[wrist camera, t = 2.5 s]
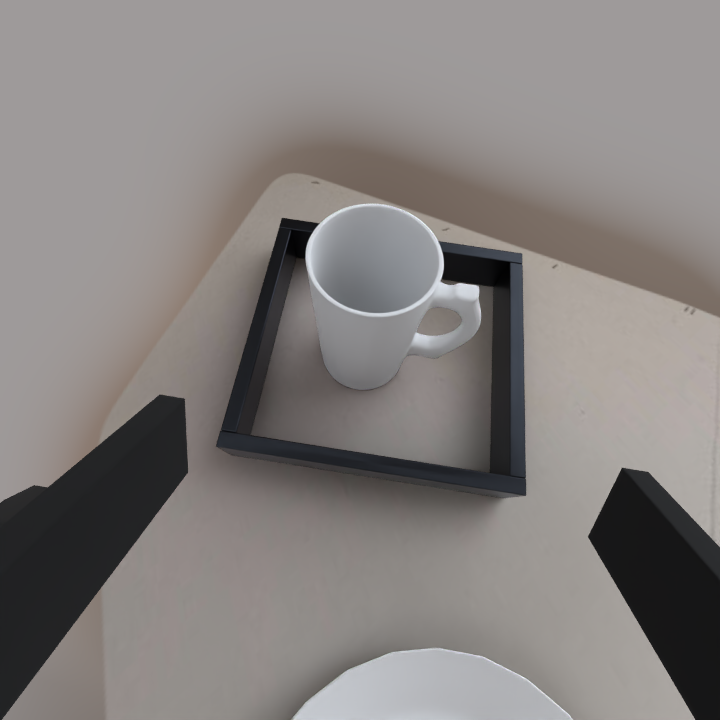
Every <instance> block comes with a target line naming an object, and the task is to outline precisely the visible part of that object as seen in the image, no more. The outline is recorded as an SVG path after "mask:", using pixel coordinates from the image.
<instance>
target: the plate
mask: <svg viewBox="0 0 720 720" xmlns="http://www.w3.org/2000/svg"><path fill="white" fill-rule="evenodd" d="M291 720H573V719H572V718H571V716H570V715H569V714H568V713H567V712H566V711H564V710H563V709H562V708H561V707H560V706H559V705H557V704H556V703H555V702H554V701H553V700H551V699H550V698H549V697H548V696H547V695H546V694H544V693H543V692H542V691H541V690H540V689H539V688H537V687H536V686H535V685H534V684H533V683H531V682H530V681H529V680H528V679H526V678H524V677H523V676H521V675H519V674H517V673H515V672H513V671H511V670H509V669H507V668H505V667H503V666H501V665H499V664H497V663H495V662H493V661H491V660H489V659H487V658H485V657H483V656H478V655H473V654H468V653H463V652H458V651H452V650H447V649H442V648H427V649H417V650H407V651H397V652H390V653H388V654H385V655H383V656H380V657H378V658H376V659H373V660H371V661H368V662H366V663H363V664H361V665H358V666H356V667H353V668H351V669H348V670H346V671H345V672H344V673H343V674H341V675H340V676H339V677H337V678H336V679H335V680H333V681H332V682H331V683H330V684H328V685H327V686H326V687H324V688H323V689H322V690H320V691H319V692H318V693H317V694H315V695H314V696H313V697H311V698H310V699H309V700H307V701H306V702H305V703H304V705H303V706H302V707H301V708H300V709H299V711H298V712H297V713H296V714H295V716H294V717H293V718H292V719H291Z"/></svg>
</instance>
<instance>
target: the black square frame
mask: <svg viewBox="0 0 720 720" xmlns="http://www.w3.org/2000/svg"><path fill="white" fill-rule="evenodd" d="M319 224H320V223H313V222H306V221H300V220H293V219H286V218H282V220H281V223H280V227H279V230H278V234H277V237H276V241H275V244H274V248H273V251H272V255H271V258H270V262H269V265H268V268H267V272H266V275H265V279H264V282H263V286H262V289H261V293H260V296H259V300H258V303H257V307H256V310H255V314H254V317H253V320H252V324H251V327H250V331H249V334H248V338H247V341H246V345H245V348H244V352H243V355H242V359H241V362H240V366H239V369H238V372H237V376H236V379H235V383H234V386H233V390H232V393H231V397H230V400H229V404H228V407H227V411H226V414H225V417H224V421H223V424H222V428H221V430H222V431H220V434H219V437H218V441H217V444H216V447H218V448H220V449H222V450H223V451H225V452H227V453H229V454H231V455H235V456H241V457H247V458H254V459H260V460H266V461H273V462H279V463H285V464H291V465H298V466H304V467H310V468H317V469H323V470H329V471H335V472H342V473H348V474H354V475H361V476H367V477H373V478H379V479H386V480H392V481H398V482H405V483H411V484H417V485H423V486H430V487H436V488H442V489H449V490H455V491H461V492H467V493H474V494H480V495H486V496H493V497H499V498H509V497H518V496H526V479H525V478H526V465H525V400H524V335H523V270H522V254H521V253H514V252H508V251H501V250H494V249H487V248H481V247H474V246H467V245H461V244H454V243H447V242H440V241H438V242H439V244H440V247H441V249H442V253H443V259H444V270H443V275H442V278H441V279H446V280H453V281H460V282H466V283H473V284H480V285H486V286H493V287H494V288H493V342H492V395H491V449H490V473H486V472H480V471H474V470H467V469H461V468H455V467H448V466H442V465H436V464H429V463H423V462H417V461H410V460H404V459H398V458H391V457H385V456H379V455H372V454H366V453H360V452H353V451H347V450H341V449H334V448H328V447H322V446H315V445H309V444H303V443H296V442H290V441H284V440H277V439H271V438H265V437H258V436H252V435H251V431H252V427H253V423H254V419H255V415H256V412H257V408H258V404H259V400H260V396H261V392H262V388H263V384H264V381H265V377H266V373H267V369H268V365H269V361H270V357H271V353H272V349H273V346H274V342H275V338H276V334H277V330H278V326H279V322H280V318H281V315H282V311H283V307H284V303H285V299H286V295H287V291H288V287H289V284H290V280H291V276H292V272H293V268H294V264H295V260H296V257H300V258H305V254H306V247H307V243H308V240H309V238H310V236H311V234H312V233H313V231H314V230H315V228H316V227H317V226H318V225H319Z"/></svg>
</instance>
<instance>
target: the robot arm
mask: <svg viewBox="0 0 720 720" xmlns="http://www.w3.org/2000/svg"><path fill="white" fill-rule="evenodd" d="M187 473H188V461H187V439H186V418H185V399H184V398H177V397H171V396H165V395H159V396H157V397H156V398H155V399H154V400H153V401H151V402H150V403H149V404H148V405H147V406H145V407H144V408H143V409H142V410H141V411H139V412H138V413H137V414H136V415H135V416H133V417H132V418H131V419H130V420H129V421H127V422H126V423H125V424H124V425H123V426H121V427H120V428H119V429H118V430H117V431H115V432H114V433H113V434H112V435H111V436H109V437H108V438H107V439H106V440H105V441H103V442H102V443H101V444H100V445H98V446H97V447H96V448H95V449H94V450H92V451H91V452H90V453H89V454H88V455H86V456H85V457H84V458H83V459H82V460H80V461H79V462H78V463H77V464H76V465H74V466H73V467H72V468H71V469H70V470H68V471H67V472H66V473H65V474H64V475H63V476H61V477H60V478H59V479H58V480H56V481H55V482H54V483H53V484H52V485H50V486H49V487H48V488H47V487H41V486H35V485H34V486H32V487H30V488H28V489H26V490H24V491H22V492H20V493H18V494H16V495H14V496H11V497H9V498H7V499H5V500H4V501H2V502H1V503H0V720H2V719H3V717H4V716H5V715H6V713H7V712H8V711H9V709H10V708H11V707H12V705H13V704H14V703H15V701H16V700H17V699H18V697H19V696H20V695H21V693H22V692H23V691H24V689H25V688H26V687H27V685H28V684H29V683H30V681H31V680H32V679H33V677H34V676H35V675H36V673H37V672H38V671H39V670H40V668H41V667H42V666H43V664H44V663H45V661H46V660H47V659H48V658H49V656H50V655H51V654H52V652H53V651H54V650H55V648H56V647H57V646H58V644H59V643H60V642H61V640H62V639H63V638H64V636H65V635H66V634H67V632H68V631H69V630H70V628H71V627H72V626H73V624H74V623H75V622H76V620H77V619H78V618H79V616H80V615H81V614H82V612H83V611H84V609H85V608H86V607H87V605H88V604H89V603H90V602H91V600H92V599H93V598H94V596H95V595H96V594H97V592H98V591H99V590H100V588H101V587H102V586H103V585H104V583H105V582H106V581H107V579H108V578H109V577H110V575H111V574H112V573H113V571H114V570H115V569H116V567H117V566H118V565H119V563H120V562H121V561H122V559H123V558H124V557H125V555H126V554H127V553H128V551H129V550H130V549H131V547H132V546H133V545H134V543H135V542H136V541H137V539H138V538H139V537H140V535H141V534H142V533H143V531H144V530H145V529H146V527H147V526H148V525H149V523H150V522H151V521H152V519H153V518H154V517H155V515H156V514H157V513H158V511H159V510H160V509H161V507H162V506H163V505H164V503H165V502H166V501H167V499H168V498H169V497H170V496H171V494H172V493H173V492H174V490H175V489H176V488H177V486H178V485H179V484H180V482H181V481H182V480H183V478H184V477H185V476H186V474H187ZM588 538H589V539H590V541H591V543H592V545H593V546H594V548H595V550H596V551H597V553H598V555H599V556H600V558H601V560H602V562H603V563H604V565H605V567H606V568H607V570H608V572H609V573H610V575H611V577H612V579H613V580H614V582H615V584H616V585H617V587H618V589H619V590H620V592H621V594H622V596H623V597H624V599H625V601H626V602H627V604H628V606H629V607H630V609H631V611H632V613H633V614H634V616H635V618H636V619H637V621H638V623H639V625H640V626H641V628H642V630H643V631H644V633H645V635H646V636H647V638H648V640H649V642H650V643H651V645H652V647H653V648H654V650H655V652H656V653H657V655H658V657H659V659H660V660H661V662H662V664H663V665H664V667H665V669H666V670H667V672H668V674H669V676H670V677H671V679H672V681H673V682H674V684H675V686H676V687H677V689H678V691H679V693H680V694H681V696H682V698H683V699H684V701H685V703H686V705H687V706H688V708H689V710H690V711H691V713H692V715H693V716H694V718H695V720H720V547H719V546H718V545H717V544H716V543H715V542H714V541H713V540H712V539H711V538H710V536H709V535H708V534H707V533H706V532H705V531H704V530H703V529H702V528H701V527H700V526H699V525H698V524H697V523H696V522H695V521H694V520H693V519H692V518H691V517H690V515H689V514H688V513H687V512H686V511H685V510H684V509H683V508H682V507H681V506H680V505H679V504H678V503H677V502H676V501H675V500H674V499H673V498H672V497H671V496H670V494H669V493H668V492H667V491H666V490H665V489H664V488H663V487H662V486H661V485H660V484H659V483H658V482H657V481H656V480H655V479H654V478H653V477H652V476H651V474H650V473H649V472H645V471H639V470H632V469H626V468H622V469H621V471H620V473H619V475H618V477H617V479H616V481H615V483H614V485H613V487H612V489H611V491H610V493H609V495H608V497H607V499H606V501H605V504H604V506H603V508H602V510H601V512H600V514H599V516H598V518H597V520H596V522H595V524H594V526H593V528H592V530H591V532H590V534H589V536H588Z"/></svg>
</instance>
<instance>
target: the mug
mask: <svg viewBox="0 0 720 720" xmlns="http://www.w3.org/2000/svg"><path fill="white" fill-rule="evenodd" d="M305 260H306V268H307V271H308V279H309V285H310V291H311V297H312V302H313V308H314V313H315V319H316V324H317V330H318V336H319V342H320V348H321V353H322V357H323V361H324V364H325V366H326V368H327V370H328V372H329V373H330V375H331V376H332V377H333V378H334V379H335V380H337V381H338V382H339V383H341V384H342V385H344V386H347V387H349V388H352V389H357V390H369V389H374V388H377V387H380V386H382V385H384V384H386V383H387V382H388V381H390V380H391V379H392V378H393V377H394V376H395V374H396V373H397V372H398V370H399V368H400V366H401V364H402V362H403V360H404V359H405V357H407V356H409V355H417V356H423V357H428V358H432V359H435V358H439V357H440V356H442V355H444V354H446V353H448V352H450V351H452V350H454V349H456V348H458V347H460V346H461V345H463V344H464V343H466V342H467V341H469V340H470V339H471V338H472V337H473V336H474V335H475V334H476V332H477V331H478V329H479V326H480V323H481V309H480V304H479V299H478V297H479V287H478V286H476V285H469V284H463V283H458V284H455V285H447V284H444V283H442V282H440V281H441V278H442V275H443V270H444V259H443V253H442V249H441V247H440V244H439V242H438V240H437V238H436V237H435V235H434V234H433V232H432V231H431V230H430V229H429V228H428V227H427V225H425V224H424V223H423V222H422V221H421V220H420V219H418V218H417V217H415V216H414V215H412V214H410V213H408V212H406V211H404V210H402V209H399V208H396V207H392V206H388V205H383V204H360V205H354V206H350V207H347V208H344V209H341V210H339V211H337V212H335V213H333V214H331V215H330V216H328V217H327V218H325V219H324V220H323V221H322V222H321V223H320V224H319V225H318V226H317V227H316V228H315V230H314V231H313V233H312V234H311V236H310V238H309V240H308V243H307V247H306V254H305ZM438 307H441V308H448V309H451V310H454V311H455V312H457V313H458V314H459V315H460V317H461V319H462V322H461V324H460V325H459V326H458V327H457V328H456V329H455V330H453V331H452V332H450V333H447V334H444V335H439V336H427V335H422V334H419V333H417V332H416V331H417V329H418V327H419V325H420V323H421V320H422V318H423V316H424V315H425V313H426V312H427V311H428V310H429V309H432V308H438Z"/></svg>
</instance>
